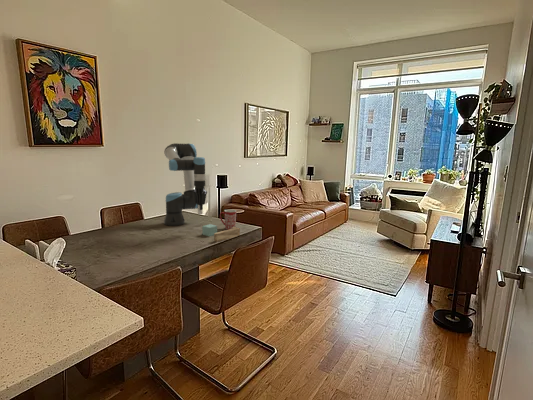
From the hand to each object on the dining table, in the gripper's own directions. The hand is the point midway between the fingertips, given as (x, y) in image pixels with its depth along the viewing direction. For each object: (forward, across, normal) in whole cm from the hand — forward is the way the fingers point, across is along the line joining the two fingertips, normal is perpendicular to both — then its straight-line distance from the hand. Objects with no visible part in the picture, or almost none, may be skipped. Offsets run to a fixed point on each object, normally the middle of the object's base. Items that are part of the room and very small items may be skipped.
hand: (200, 214), depth 219 cm
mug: (+13, +8, +19) cm, 24 cm away
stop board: (+13, +24, +2) cm, 27 cm away
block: (+13, +10, 0) cm, 16 cm away
